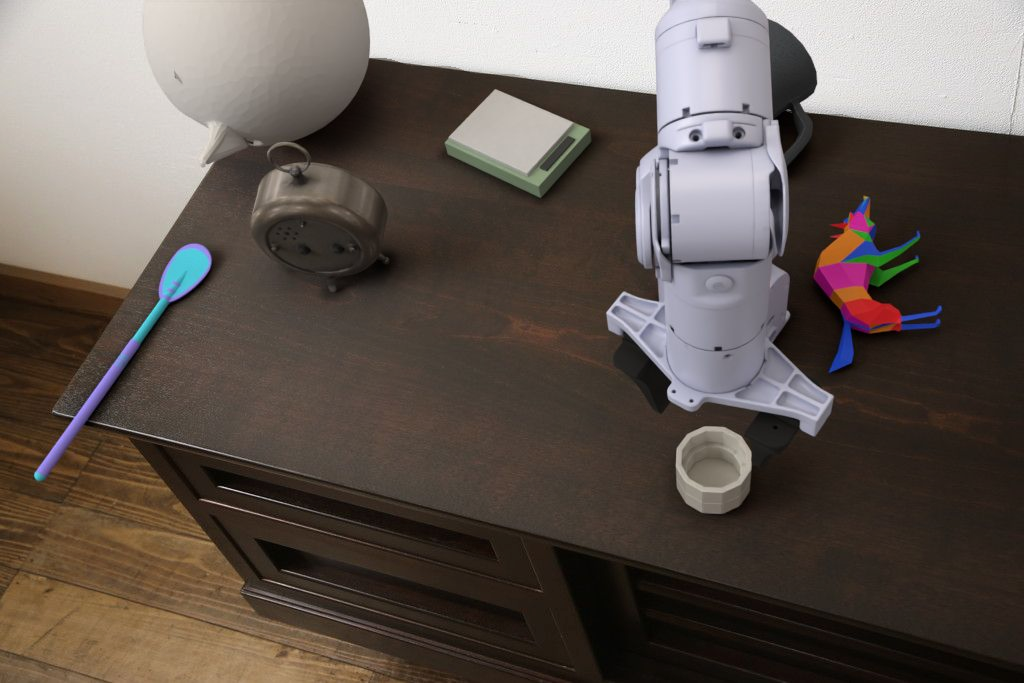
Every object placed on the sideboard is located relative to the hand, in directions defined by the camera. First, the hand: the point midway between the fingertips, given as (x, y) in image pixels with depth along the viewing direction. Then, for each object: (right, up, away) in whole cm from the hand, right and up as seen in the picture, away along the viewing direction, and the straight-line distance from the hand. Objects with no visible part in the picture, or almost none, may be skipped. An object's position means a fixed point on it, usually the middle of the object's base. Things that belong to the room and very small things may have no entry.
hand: (714, 427), depth 72 cm
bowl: (+1, -5, +7) cm, 8 cm away
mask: (-31, +37, +35) cm, 60 cm away
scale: (-13, +24, +29) cm, 39 cm away
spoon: (-46, +5, +20) cm, 51 cm away
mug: (+11, +30, +24) cm, 40 cm away
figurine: (+19, +12, +12) cm, 25 cm away
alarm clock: (-29, +12, +24) cm, 39 cm away
